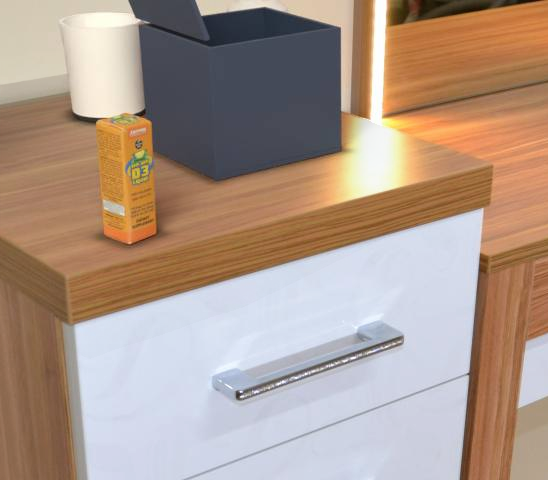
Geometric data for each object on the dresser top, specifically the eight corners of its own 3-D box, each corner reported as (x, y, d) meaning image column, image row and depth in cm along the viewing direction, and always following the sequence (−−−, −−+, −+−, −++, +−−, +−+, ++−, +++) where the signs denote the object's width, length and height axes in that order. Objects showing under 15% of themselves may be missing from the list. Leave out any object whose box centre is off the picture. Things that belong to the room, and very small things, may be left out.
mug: (92, 128, 123) (82, 32, 119) (55, 111, 130) (44, 18, 125) (180, 111, 130) (173, 19, 125) (141, 95, 136) (133, 6, 131)
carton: (216, 181, 109) (209, 48, 103) (148, 147, 118) (138, 24, 112) (341, 151, 117) (341, 27, 112) (268, 122, 126) (265, 6, 121)
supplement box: (131, 246, 94) (120, 127, 89) (103, 237, 96) (91, 119, 91) (161, 234, 96) (152, 118, 92) (133, 225, 98) (122, 110, 94)
